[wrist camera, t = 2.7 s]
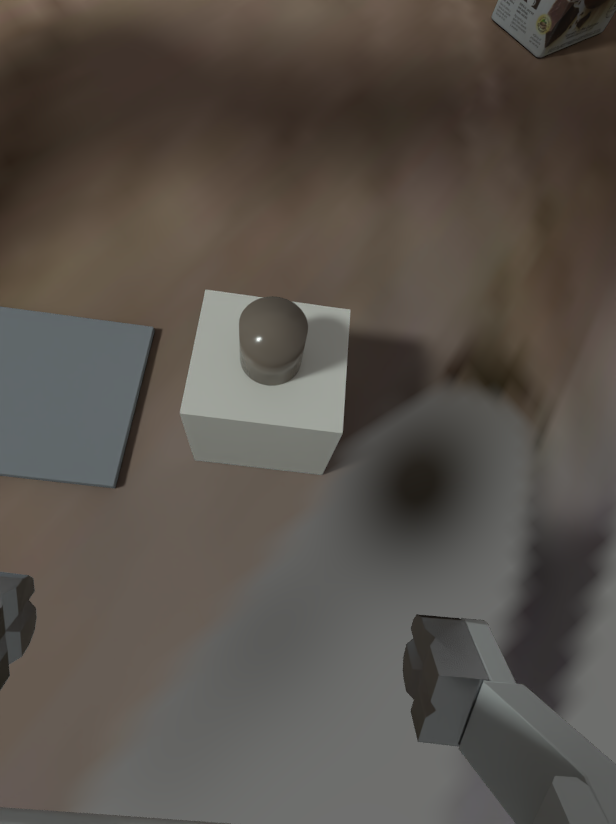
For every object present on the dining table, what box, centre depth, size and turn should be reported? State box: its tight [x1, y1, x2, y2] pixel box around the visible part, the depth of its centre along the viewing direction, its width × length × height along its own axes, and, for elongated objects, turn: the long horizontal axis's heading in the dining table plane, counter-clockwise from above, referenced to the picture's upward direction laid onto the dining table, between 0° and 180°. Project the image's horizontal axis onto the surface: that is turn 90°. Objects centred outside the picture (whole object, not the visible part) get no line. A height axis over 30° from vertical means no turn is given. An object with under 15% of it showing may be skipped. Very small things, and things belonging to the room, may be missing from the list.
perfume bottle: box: [180, 290, 350, 475], centre depth 23 cm, size 6×6×8 cm
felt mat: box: [0, 307, 154, 488], centre depth 25 cm, size 9×9×1 cm
